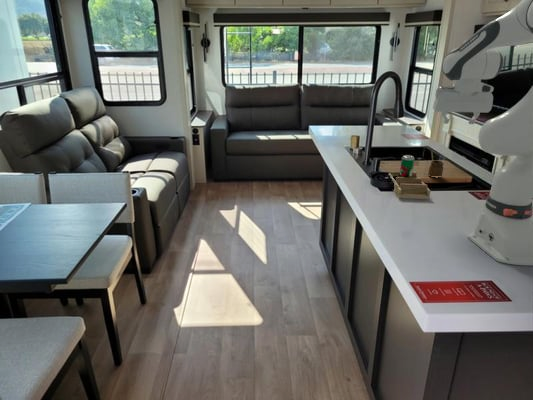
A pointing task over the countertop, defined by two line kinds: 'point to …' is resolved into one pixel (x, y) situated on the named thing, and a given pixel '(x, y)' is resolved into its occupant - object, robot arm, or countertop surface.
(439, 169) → the utensil holder
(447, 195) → the countertop surface
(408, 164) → the soda can
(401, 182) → the rack
